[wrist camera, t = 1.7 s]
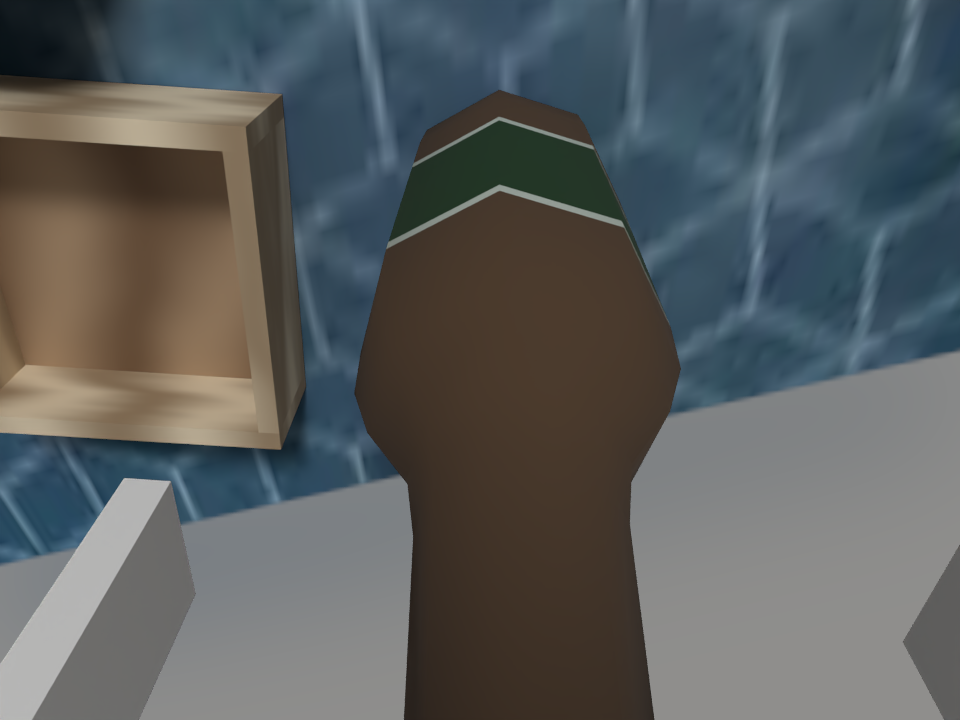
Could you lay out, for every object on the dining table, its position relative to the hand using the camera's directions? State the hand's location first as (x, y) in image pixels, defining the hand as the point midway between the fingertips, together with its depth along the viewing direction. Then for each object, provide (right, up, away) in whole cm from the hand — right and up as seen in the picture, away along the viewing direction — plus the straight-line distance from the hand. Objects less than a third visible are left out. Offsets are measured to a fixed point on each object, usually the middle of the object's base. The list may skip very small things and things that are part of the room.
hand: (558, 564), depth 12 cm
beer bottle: (0, +10, +15) cm, 18 cm away
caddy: (-15, +8, +17) cm, 24 cm away
